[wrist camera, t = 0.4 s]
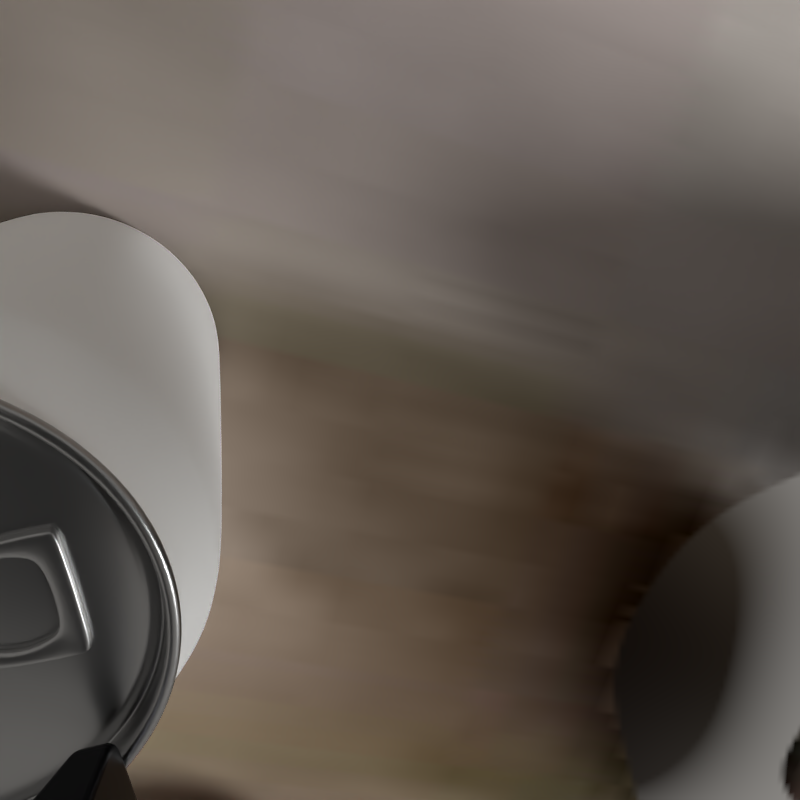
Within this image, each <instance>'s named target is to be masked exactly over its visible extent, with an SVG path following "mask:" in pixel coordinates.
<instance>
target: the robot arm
mask: <svg viewBox="0 0 800 800" xmlns="http://www.w3.org/2000/svg"><path fill="white" fill-rule="evenodd" d="M33 800H137V799H136V796H135V793H134V790H133V787H132V784H131V782H130V779H129V776H128V773H127V770H126V768H125V765H124V762H123V759H122V756H121V754H120V751H119V749H118V748H117V747H116V745H114V744H112V743H105V744H100V745H96V746H92V747H88V748H84V749H80V750H78V751H76V752H74V753H73V754H72V755H71V756H70V757H69V758H68V759H67V760H66V761H65V762H64V764H63V765H62V766H61V767H60V768H59V769H58V771H57V772H56V773H55V774H54V775H53V777H52V778H51V779H50V780H49V781H48V782H47V784H46V785H45V786H44V787H43V788H42V790H41V791H40V792H39V793H38V794H37V795H36V797H35V798H34V799H33Z"/></svg>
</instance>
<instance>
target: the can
mask: <svg viewBox="0 0 800 800" xmlns="http://www.w3.org/2000/svg"><path fill="white" fill-rule="evenodd" d="M221 523H222V467H221V396H220V360H219V345H218V337H217V331H216V326H215V322H214V318H213V315H212V312H211V309H210V307H209V304H208V302H207V300H206V298H205V296H204V294H203V292H202V290H201V288H200V287H199V285H198V283H197V282H196V280H195V279H194V277H193V276H192V275H191V273H190V272H189V271H188V270H187V268H186V267H185V266H184V265H183V264H182V263H181V262H180V261H179V260H178V259H177V258H176V257H175V256H174V255H173V254H172V253H171V252H170V251H169V250H168V249H166V248H165V247H164V246H163V245H161V244H160V243H159V242H157V241H156V240H154V239H153V238H151V237H150V236H148V235H146V234H145V233H143V232H141V231H139V230H137V229H135V228H133V227H131V226H129V225H126V224H124V223H121V222H119V221H116V220H113V219H110V218H106V217H102V216H98V215H93V214H87V213H79V212H46V213H38V214H32V215H27V216H23V217H19V218H15V219H11V220H8V221H5V222H2V223H0V800H33V799H34V798H35V797H36V795H37V794H38V793H39V792H40V791H41V790H42V788H43V787H44V786H45V785H46V784H47V782H48V781H49V780H50V779H51V778H52V777H53V775H54V774H55V773H56V772H57V771H58V769H59V768H60V767H61V766H62V765H63V764H64V762H65V761H66V760H67V759H68V758H69V757H70V756H71V755H72V754H73V753H74V752H76V751H78V750H80V749H84V748H88V747H92V746H96V745H100V744H105V743H112V744H114V745H116V747H117V748H118V749H119V751H120V754H121V756H122V759H123V762H124V765H125V768H127V767H128V766H129V764H130V763H131V762H132V761H133V760H134V758H135V757H136V756H137V755H138V753H139V752H140V751H141V749H142V748H143V746H144V745H145V744H146V742H147V741H148V739H149V737H150V736H151V734H152V733H153V731H154V729H155V727H156V726H157V724H158V722H159V720H160V718H161V716H162V714H163V712H164V709H165V707H166V705H167V702H168V700H169V697H170V694H171V691H172V688H173V685H174V682H175V678H176V677H177V676H178V674H179V673H180V671H181V670H182V668H183V667H184V665H185V663H186V662H187V660H188V659H189V657H190V655H191V654H192V652H193V650H194V648H195V646H196V644H197V642H198V640H199V638H200V636H201V634H202V631H203V629H204V626H205V624H206V621H207V618H208V615H209V612H210V609H211V605H212V601H213V597H214V592H215V587H216V582H217V577H218V571H219V562H220V548H221Z"/></svg>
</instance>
